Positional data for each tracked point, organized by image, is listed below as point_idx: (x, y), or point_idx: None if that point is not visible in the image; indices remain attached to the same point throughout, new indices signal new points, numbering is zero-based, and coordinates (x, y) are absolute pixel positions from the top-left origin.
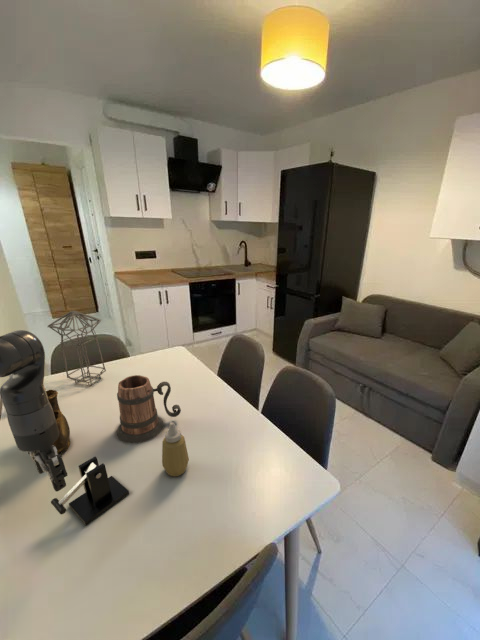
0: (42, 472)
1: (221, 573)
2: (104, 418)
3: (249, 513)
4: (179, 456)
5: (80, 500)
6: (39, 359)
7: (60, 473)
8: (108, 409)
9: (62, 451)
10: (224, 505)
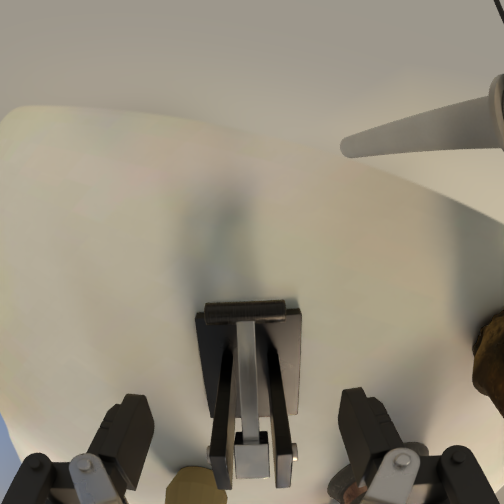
0: (342, 396)
1: None
2: (471, 429)
3: (45, 451)
4: None
5: (283, 339)
6: None
7: (55, 502)
8: (481, 436)
9: (477, 350)
10: (71, 453)
